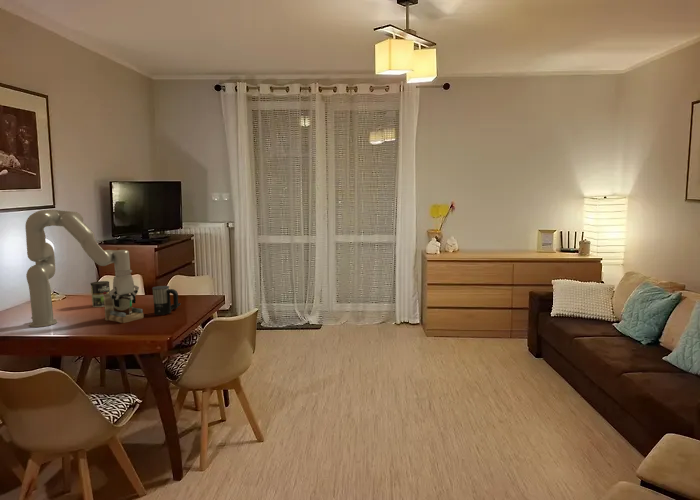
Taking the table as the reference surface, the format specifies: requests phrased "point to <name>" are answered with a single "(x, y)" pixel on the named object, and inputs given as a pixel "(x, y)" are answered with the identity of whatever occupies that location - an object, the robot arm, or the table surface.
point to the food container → (124, 304)
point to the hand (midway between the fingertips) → (125, 304)
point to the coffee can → (99, 292)
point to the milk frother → (164, 300)
